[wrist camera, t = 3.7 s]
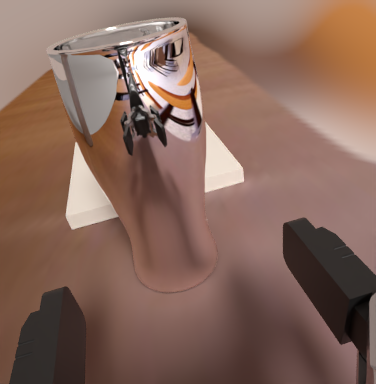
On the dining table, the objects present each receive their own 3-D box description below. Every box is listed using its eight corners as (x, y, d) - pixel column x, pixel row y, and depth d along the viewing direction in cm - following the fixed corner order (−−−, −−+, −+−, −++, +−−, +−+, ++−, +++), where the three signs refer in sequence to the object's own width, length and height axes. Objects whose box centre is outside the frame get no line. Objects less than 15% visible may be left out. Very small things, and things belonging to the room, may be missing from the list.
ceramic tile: (72, 229, 28) (65, 215, 27) (79, 153, 41) (75, 141, 40) (243, 181, 30) (242, 167, 29) (198, 122, 43) (197, 111, 42)
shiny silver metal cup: (173, 319, 19) (89, 55, 11) (110, 266, 24) (17, 51, 15) (244, 250, 23) (222, 12, 14) (178, 215, 27) (132, 19, 19)
